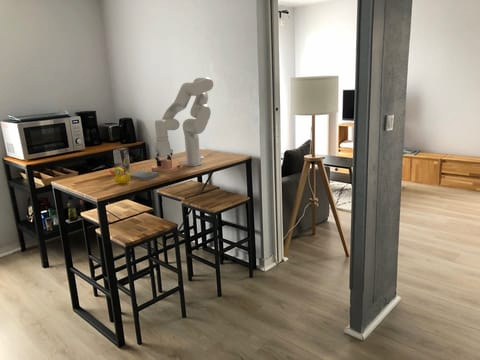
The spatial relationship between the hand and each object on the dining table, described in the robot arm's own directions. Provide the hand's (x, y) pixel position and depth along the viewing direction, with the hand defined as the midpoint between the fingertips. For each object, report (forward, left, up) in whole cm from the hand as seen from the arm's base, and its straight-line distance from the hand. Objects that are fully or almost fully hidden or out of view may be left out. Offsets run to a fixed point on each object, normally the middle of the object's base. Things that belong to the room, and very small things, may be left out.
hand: (164, 164), depth 260 cm
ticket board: (+19, 0, -4) cm, 19 cm away
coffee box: (+18, -20, -4) cm, 27 cm away
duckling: (+36, 0, -4) cm, 36 cm away
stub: (0, 0, -4) cm, 4 cm away
